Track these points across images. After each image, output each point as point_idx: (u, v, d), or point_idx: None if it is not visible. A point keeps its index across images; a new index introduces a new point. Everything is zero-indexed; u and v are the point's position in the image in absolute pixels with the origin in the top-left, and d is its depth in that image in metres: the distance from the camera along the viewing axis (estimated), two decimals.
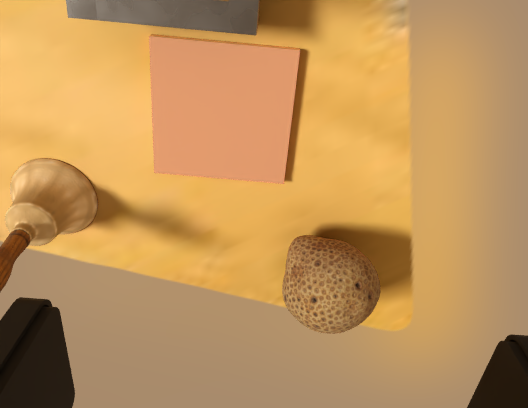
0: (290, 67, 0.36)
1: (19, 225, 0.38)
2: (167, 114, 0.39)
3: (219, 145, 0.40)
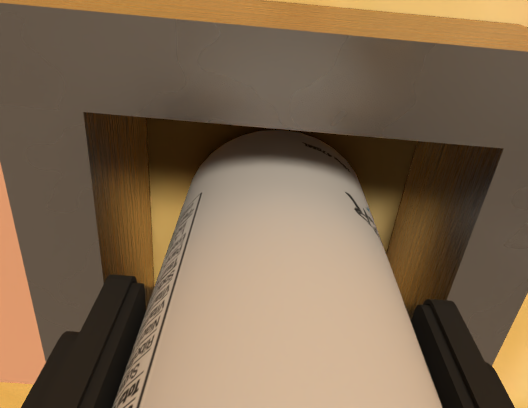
0: None
1: None
2: None
3: None
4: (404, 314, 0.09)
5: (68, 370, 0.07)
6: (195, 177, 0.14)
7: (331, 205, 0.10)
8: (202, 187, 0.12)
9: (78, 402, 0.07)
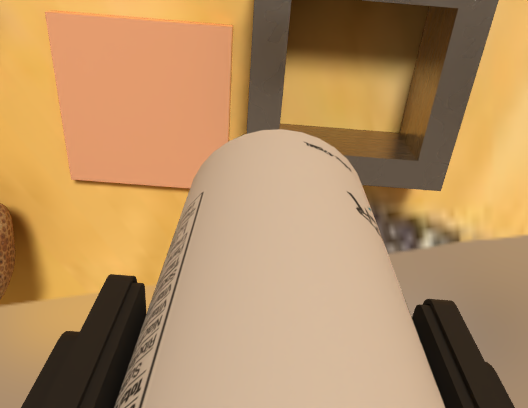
0: None
1: None
2: (135, 40, 0.29)
3: (105, 105, 0.32)
4: (406, 313, 0.09)
5: (68, 370, 0.07)
6: (196, 177, 0.14)
7: (333, 204, 0.10)
8: (203, 186, 0.12)
9: (78, 402, 0.07)
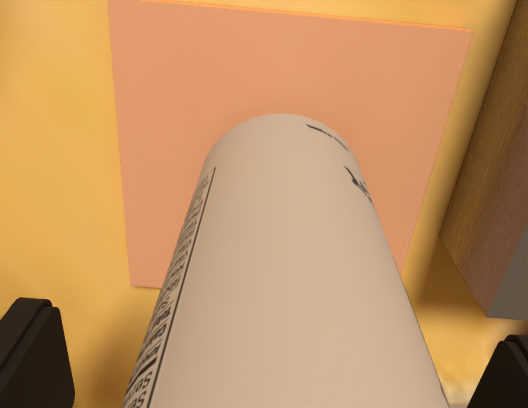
0: None
1: None
2: (279, 55, 0.15)
3: None
4: (392, 263, 0.10)
5: None
6: (208, 156, 0.15)
7: (330, 175, 0.12)
8: (216, 162, 0.14)
9: None
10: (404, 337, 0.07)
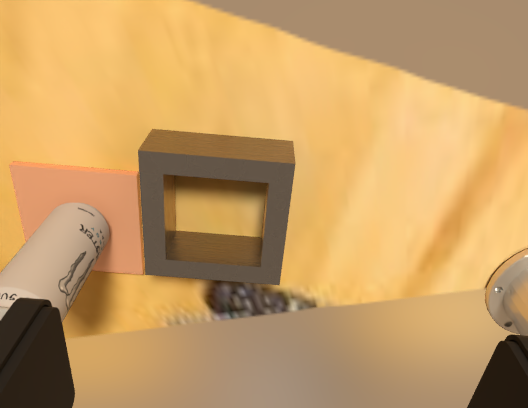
0: (129, 269, 0.48)
1: None
2: (71, 182, 0.43)
3: None
4: (74, 254, 0.38)
5: None
6: None
7: (68, 228, 0.40)
8: None
9: None
10: (53, 269, 0.35)
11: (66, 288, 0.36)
